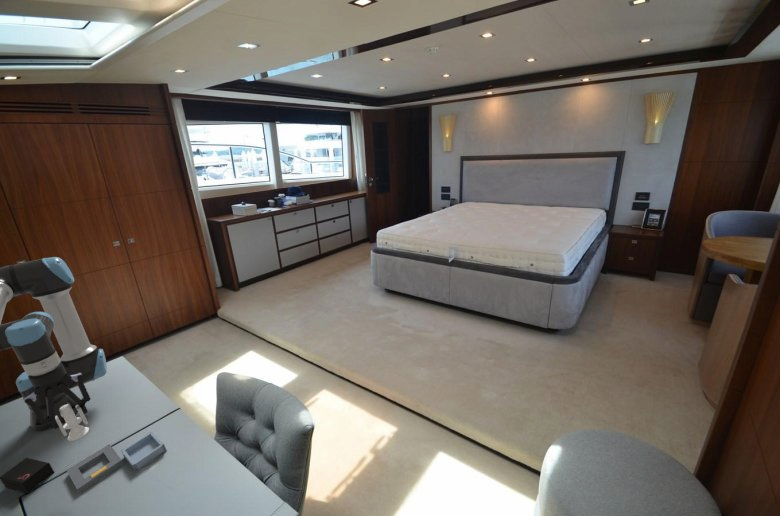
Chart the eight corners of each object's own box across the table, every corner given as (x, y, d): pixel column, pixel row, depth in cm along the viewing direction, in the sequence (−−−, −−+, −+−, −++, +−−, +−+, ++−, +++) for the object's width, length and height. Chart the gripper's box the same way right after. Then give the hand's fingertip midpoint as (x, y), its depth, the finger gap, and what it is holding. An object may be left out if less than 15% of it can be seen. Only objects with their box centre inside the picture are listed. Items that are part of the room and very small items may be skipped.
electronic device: (32, 467, 117) (26, 457, 116) (55, 472, 115) (48, 462, 113) (5, 488, 111) (-2, 477, 109) (28, 494, 108) (21, 483, 106)
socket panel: (68, 474, 114) (66, 469, 113) (111, 448, 123) (109, 443, 122) (79, 493, 107) (76, 488, 106) (123, 464, 116) (121, 459, 115)
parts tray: (124, 456, 119) (121, 450, 118) (154, 437, 126) (151, 431, 125) (135, 472, 113) (132, 465, 112) (166, 450, 120) (164, 444, 119)
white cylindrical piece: (68, 444, 106) (53, 414, 102) (66, 435, 109) (51, 406, 105) (90, 433, 109) (76, 404, 105) (87, 424, 113) (73, 396, 109)
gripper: (4, 391, 92) (41, 454, 100) (85, 356, 105) (112, 414, 113) (0, 381, 96) (35, 442, 104) (78, 349, 109) (104, 405, 117)
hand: (75, 427), depth 108 cm, fingers closed on white cylindrical piece, 4 cm apart
